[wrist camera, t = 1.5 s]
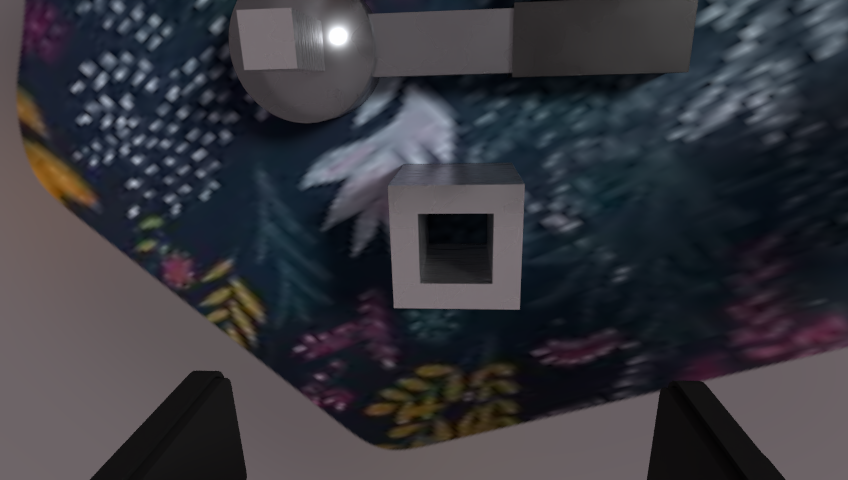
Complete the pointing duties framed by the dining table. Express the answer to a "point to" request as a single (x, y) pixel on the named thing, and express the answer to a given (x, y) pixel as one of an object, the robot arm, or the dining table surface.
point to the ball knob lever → (442, 46)
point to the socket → (456, 262)
